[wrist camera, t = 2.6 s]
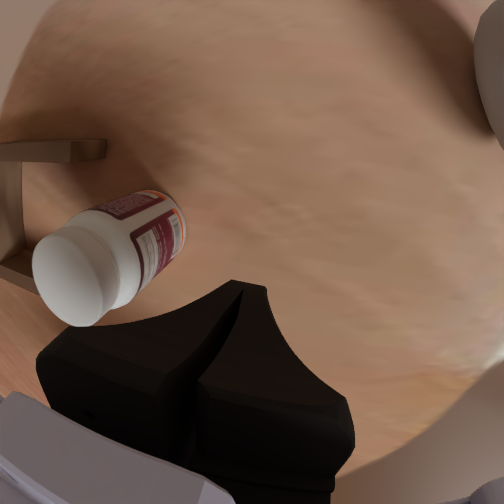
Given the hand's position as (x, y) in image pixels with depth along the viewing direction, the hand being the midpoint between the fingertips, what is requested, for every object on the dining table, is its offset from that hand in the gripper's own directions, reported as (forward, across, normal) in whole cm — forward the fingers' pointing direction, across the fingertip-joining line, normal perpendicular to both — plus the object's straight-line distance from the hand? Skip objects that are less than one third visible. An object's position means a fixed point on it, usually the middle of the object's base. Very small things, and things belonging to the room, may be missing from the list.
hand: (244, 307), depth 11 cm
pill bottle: (+7, +7, 0) cm, 10 cm away
